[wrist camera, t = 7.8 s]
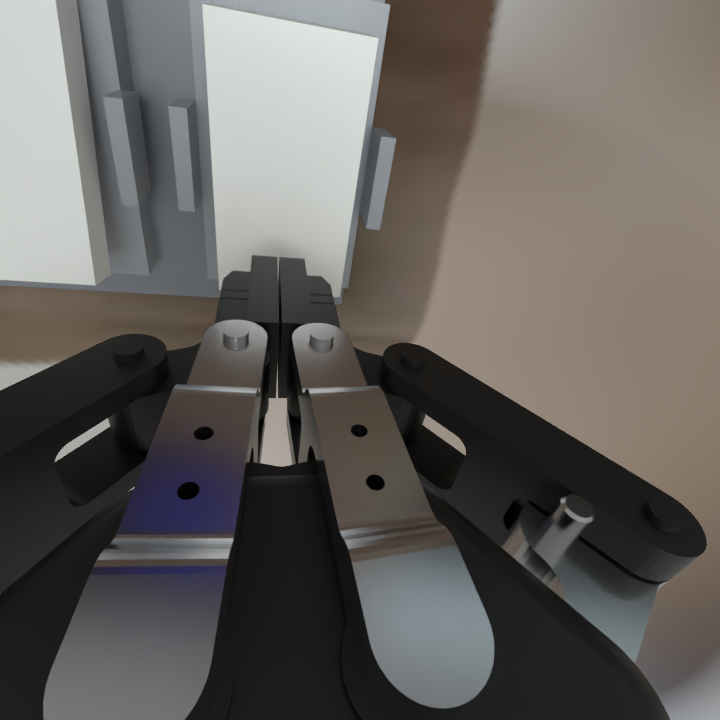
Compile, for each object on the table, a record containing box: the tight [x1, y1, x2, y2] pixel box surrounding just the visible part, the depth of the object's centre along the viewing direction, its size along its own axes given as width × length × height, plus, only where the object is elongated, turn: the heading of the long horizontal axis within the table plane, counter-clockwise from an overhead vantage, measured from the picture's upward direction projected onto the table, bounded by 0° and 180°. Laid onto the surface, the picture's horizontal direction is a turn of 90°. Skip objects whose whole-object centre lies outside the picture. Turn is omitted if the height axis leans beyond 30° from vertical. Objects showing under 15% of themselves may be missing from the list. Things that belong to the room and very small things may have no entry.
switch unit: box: [0, 0, 396, 305], centre depth 14 cm, size 21×13×4 cm, turn 82°
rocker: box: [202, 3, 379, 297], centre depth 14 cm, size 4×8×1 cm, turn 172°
